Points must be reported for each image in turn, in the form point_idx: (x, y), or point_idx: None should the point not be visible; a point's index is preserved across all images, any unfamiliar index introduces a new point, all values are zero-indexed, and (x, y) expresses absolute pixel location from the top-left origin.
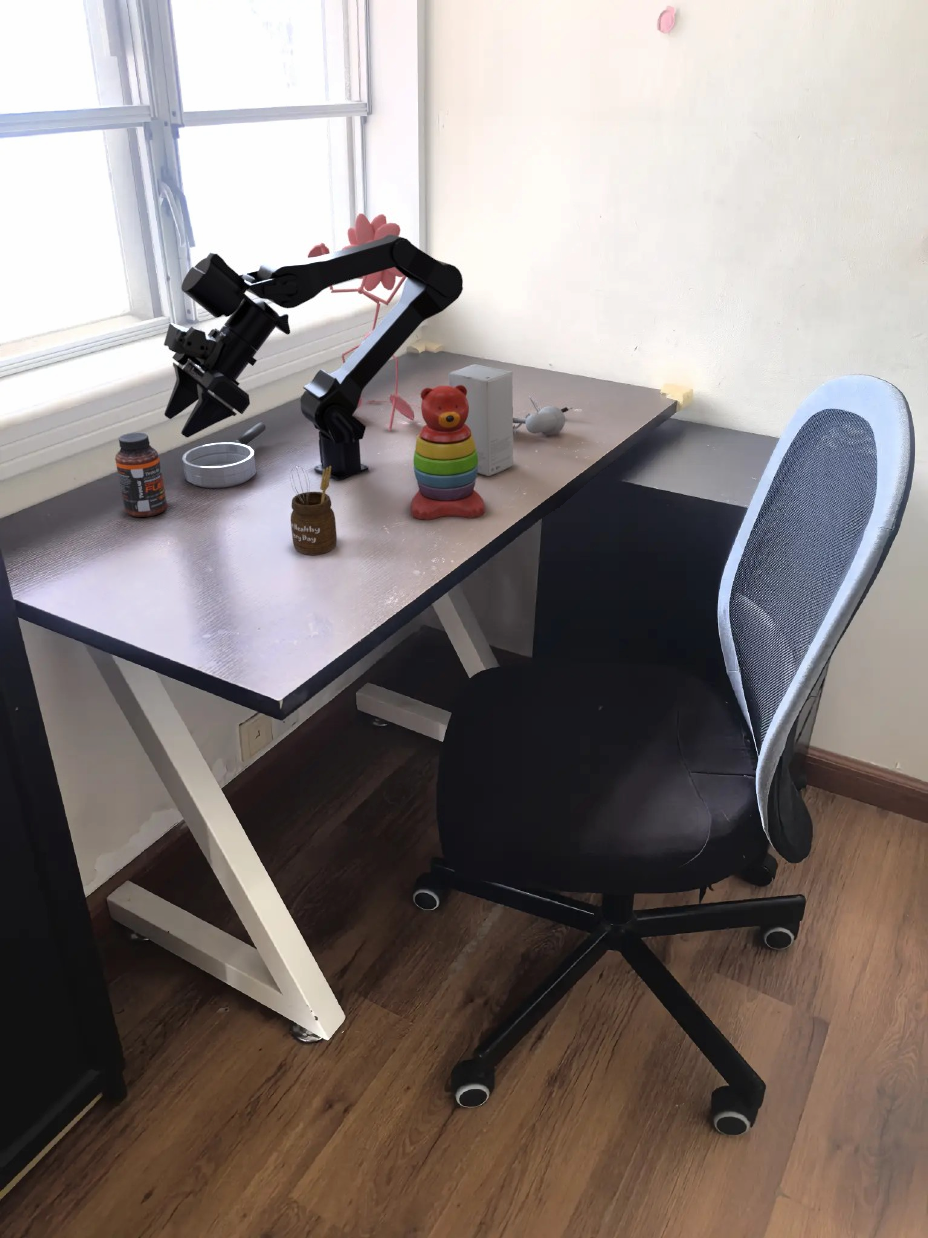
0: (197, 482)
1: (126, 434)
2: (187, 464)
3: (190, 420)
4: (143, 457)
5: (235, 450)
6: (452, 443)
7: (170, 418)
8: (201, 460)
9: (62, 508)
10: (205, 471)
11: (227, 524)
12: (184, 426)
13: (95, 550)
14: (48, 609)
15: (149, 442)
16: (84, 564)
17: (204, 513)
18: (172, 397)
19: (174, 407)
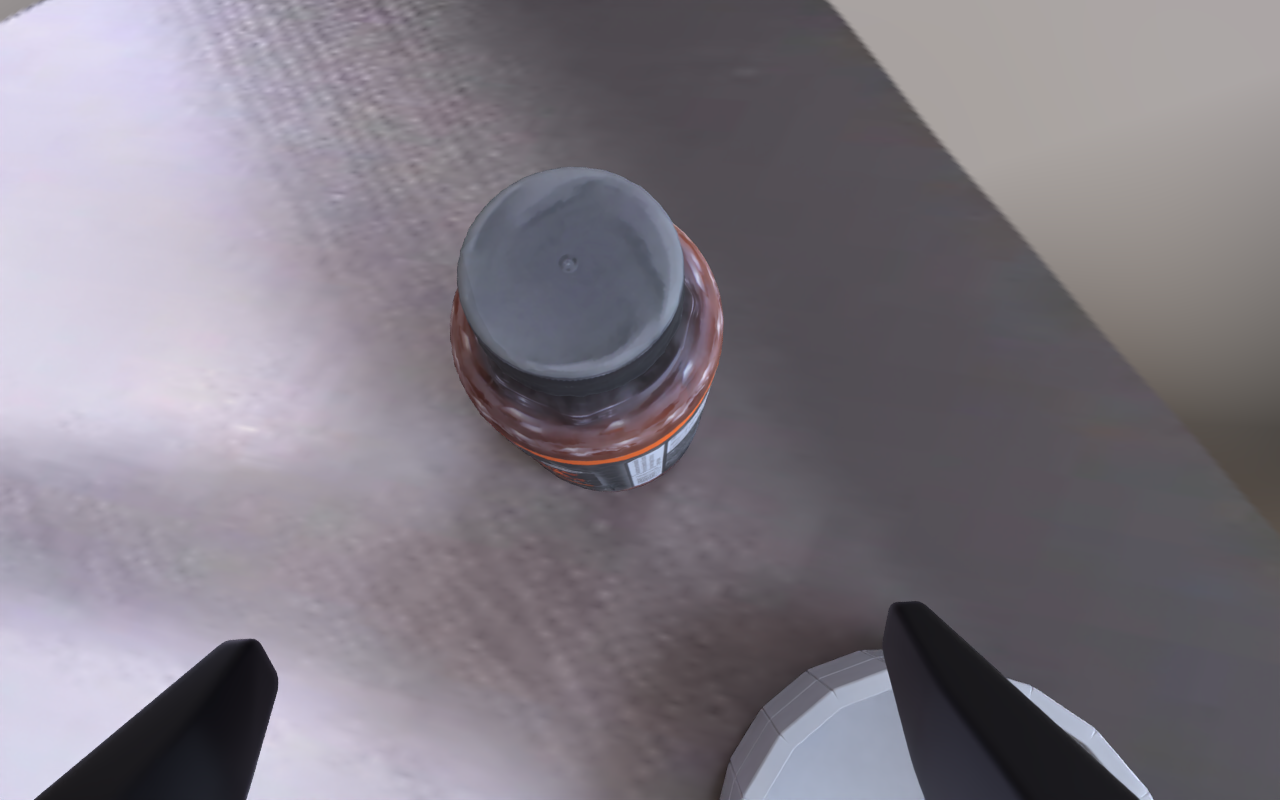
0: (786, 689)
1: (646, 227)
2: (865, 676)
3: (43, 792)
4: (459, 341)
5: None
6: None
7: (883, 651)
8: None
9: (790, 117)
10: (756, 756)
11: (282, 704)
12: (189, 694)
13: (339, 182)
14: (14, 25)
15: (555, 394)
16: (249, 139)
17: (456, 635)
18: (1016, 782)
19: (936, 743)
